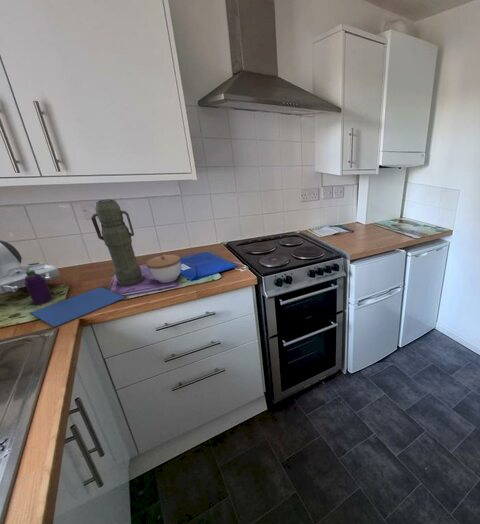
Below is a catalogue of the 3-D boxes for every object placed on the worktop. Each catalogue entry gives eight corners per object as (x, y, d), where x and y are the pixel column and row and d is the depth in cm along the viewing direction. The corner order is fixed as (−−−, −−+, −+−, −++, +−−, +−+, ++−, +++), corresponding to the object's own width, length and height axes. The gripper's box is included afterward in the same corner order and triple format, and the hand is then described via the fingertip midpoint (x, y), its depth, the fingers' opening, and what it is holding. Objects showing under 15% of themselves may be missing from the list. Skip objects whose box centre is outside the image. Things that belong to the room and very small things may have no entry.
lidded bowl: (176, 285, 126) (170, 261, 122) (145, 286, 125) (138, 262, 121) (189, 272, 138) (184, 250, 133) (160, 273, 137) (154, 250, 133)
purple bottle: (37, 305, 111) (23, 275, 106) (31, 302, 113) (17, 272, 108) (55, 299, 115) (42, 270, 110) (49, 296, 117) (36, 267, 112)
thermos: (114, 281, 129) (86, 200, 116) (146, 274, 136) (123, 197, 122) (114, 289, 123) (84, 204, 109) (147, 281, 129) (124, 200, 115)
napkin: (54, 327, 99) (53, 326, 98) (30, 313, 106) (30, 312, 106) (125, 297, 116) (125, 297, 116) (101, 287, 124) (100, 286, 124)
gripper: (-26, 279, 109) (-12, 288, 103) (46, 260, 125) (62, 267, 120) (-18, 295, 111) (-3, 304, 105) (52, 274, 128) (68, 281, 122)
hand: (32, 284), depth 113 cm, fingers open, 8 cm apart
